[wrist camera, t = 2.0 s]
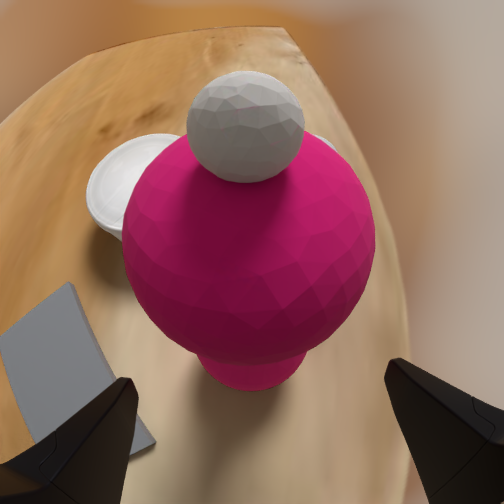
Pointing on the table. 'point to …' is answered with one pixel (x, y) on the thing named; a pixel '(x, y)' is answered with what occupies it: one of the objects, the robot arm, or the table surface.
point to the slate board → (57, 365)
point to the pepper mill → (248, 234)
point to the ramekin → (121, 179)
